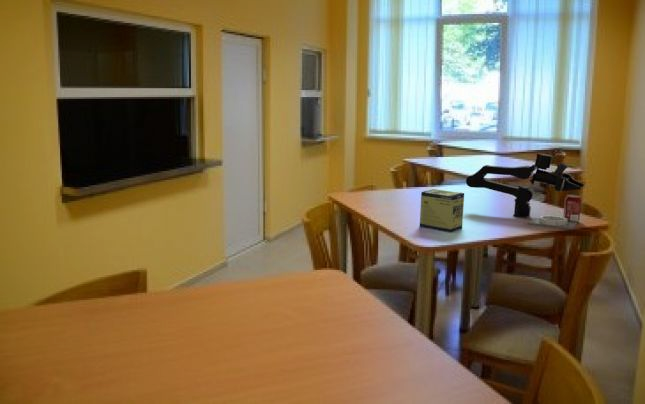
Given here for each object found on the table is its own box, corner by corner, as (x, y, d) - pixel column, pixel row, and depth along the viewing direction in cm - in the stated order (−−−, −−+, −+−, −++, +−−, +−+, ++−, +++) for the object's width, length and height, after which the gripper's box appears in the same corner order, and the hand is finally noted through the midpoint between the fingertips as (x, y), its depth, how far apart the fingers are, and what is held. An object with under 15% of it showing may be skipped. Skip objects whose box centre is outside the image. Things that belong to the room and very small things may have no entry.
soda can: (580, 223, 264) (583, 197, 262) (564, 222, 265) (567, 196, 263) (577, 220, 270) (579, 194, 268) (561, 219, 272) (564, 194, 270)
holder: (529, 224, 261) (529, 218, 260) (534, 219, 271) (535, 213, 271) (572, 229, 252) (573, 223, 252) (576, 224, 262) (577, 218, 262)
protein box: (451, 232, 244) (453, 196, 241) (418, 226, 254) (420, 191, 251) (463, 228, 252) (465, 192, 249) (431, 223, 262) (432, 188, 259)
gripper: (547, 162, 260) (584, 171, 253) (555, 159, 276) (590, 167, 269) (541, 186, 263) (577, 196, 256) (548, 181, 279) (583, 190, 272)
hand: (582, 186), depth 263 cm, fingers open, 9 cm apart
